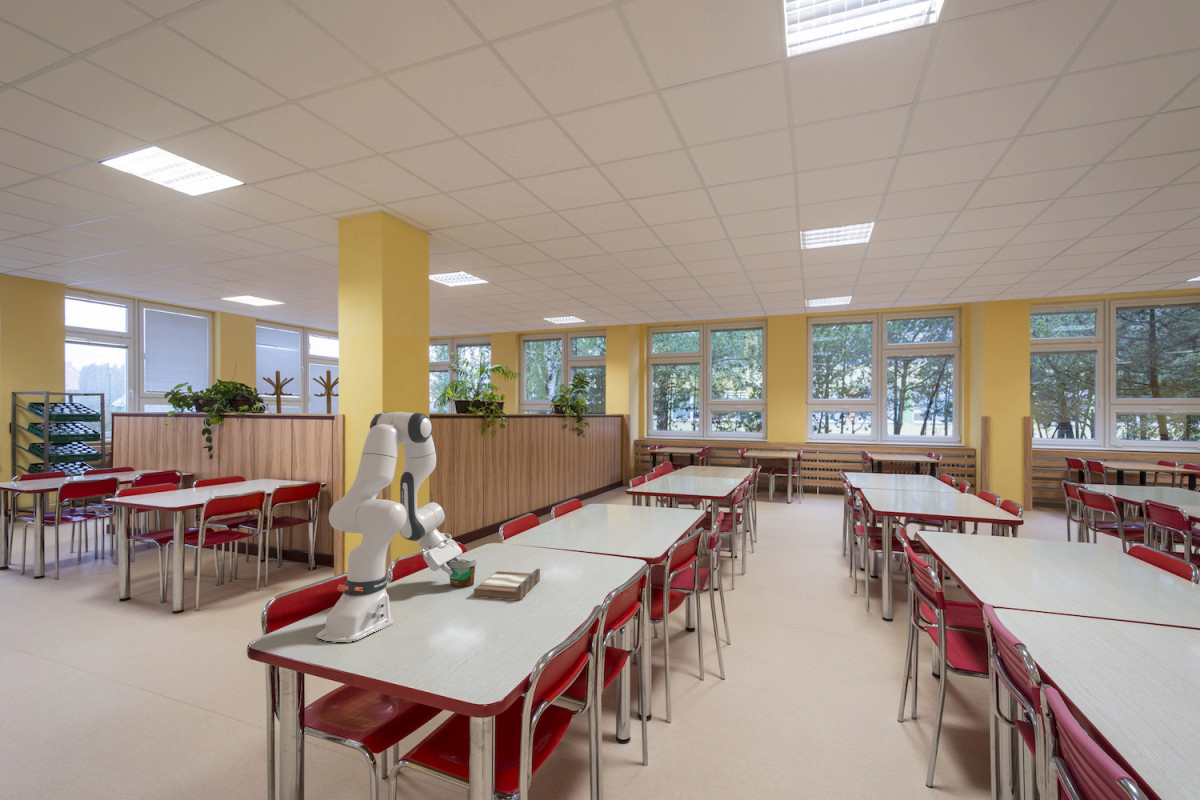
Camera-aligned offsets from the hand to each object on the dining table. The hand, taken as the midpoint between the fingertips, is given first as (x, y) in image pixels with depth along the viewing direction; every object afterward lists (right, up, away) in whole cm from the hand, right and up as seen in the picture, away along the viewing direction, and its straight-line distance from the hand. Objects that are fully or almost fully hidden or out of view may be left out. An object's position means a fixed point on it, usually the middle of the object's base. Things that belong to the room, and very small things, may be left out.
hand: (456, 570), depth 197 cm
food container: (+1, -6, 0) cm, 6 cm away
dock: (+21, -6, -3) cm, 22 cm away
